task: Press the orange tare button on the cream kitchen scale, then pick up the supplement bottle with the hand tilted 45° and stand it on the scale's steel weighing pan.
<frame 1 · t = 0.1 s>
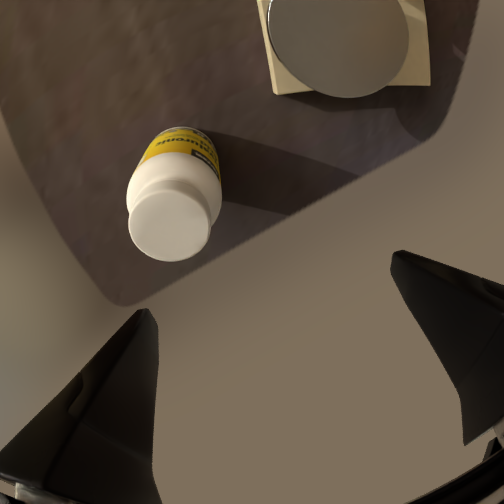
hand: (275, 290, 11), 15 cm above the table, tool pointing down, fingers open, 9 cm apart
scale pan: (325, 29, 17), resting on scale
scale: (346, 5, 16), on the table
supplement bottle: (181, 158, 22), on the table
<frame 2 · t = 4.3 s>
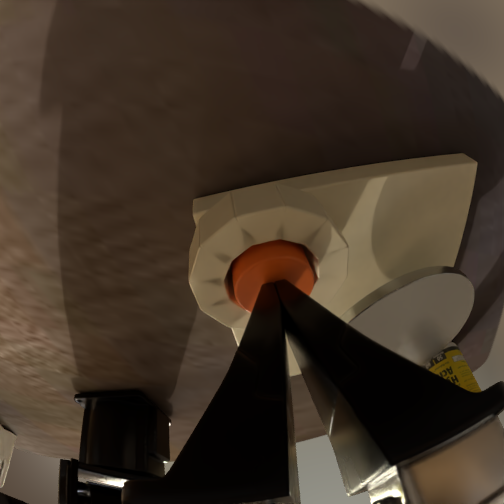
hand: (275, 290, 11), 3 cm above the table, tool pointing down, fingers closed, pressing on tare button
scale pan: (377, 296, 17), resting on scale
scale: (348, 280, 16), on the table
tare button: (271, 273, 11), point 3 cm above the table, slide at -0.8 cm, touching gripper
supplement bottle: (431, 356, 25), on the table
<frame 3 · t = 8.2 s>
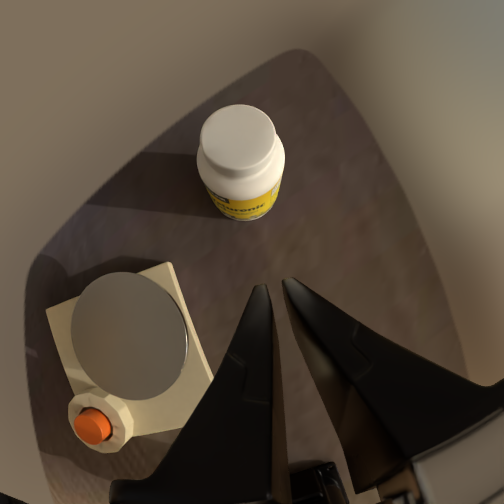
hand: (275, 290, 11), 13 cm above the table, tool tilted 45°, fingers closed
scale pan: (140, 332, 24), resting on scale
scale: (129, 360, 23), on the table
tare button: (92, 426, 19), point 3 cm above the table, slide at 0.1 cm
supplement bottle: (244, 191, 25), on the table
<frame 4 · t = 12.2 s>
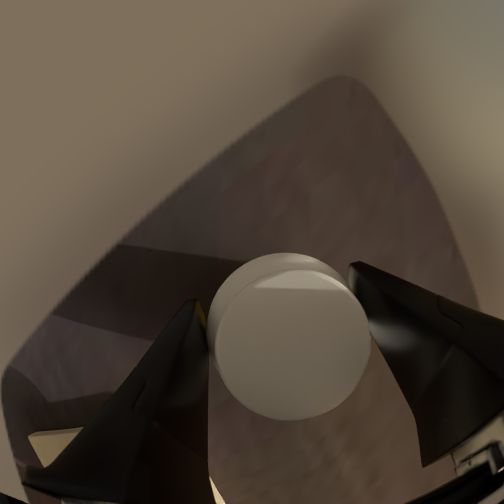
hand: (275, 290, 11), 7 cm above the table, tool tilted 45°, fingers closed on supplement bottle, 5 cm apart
scale: (135, 498, 15), on the table
supplement bottle: (274, 314, 17), on the table, touching gripper
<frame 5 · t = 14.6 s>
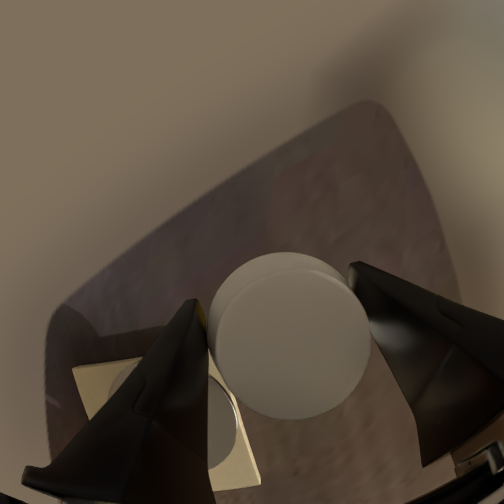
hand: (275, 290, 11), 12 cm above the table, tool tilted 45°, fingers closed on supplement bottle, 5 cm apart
scale pan: (180, 404, 22), resting on scale
scale: (165, 428, 22), on the table
supplement bottle: (274, 314, 17), point 6 cm above the table, touching gripper
when the fingers open (10 cm above the table, at t = 17.5 s): supplement bottle stays where it is, resting on scale pan.
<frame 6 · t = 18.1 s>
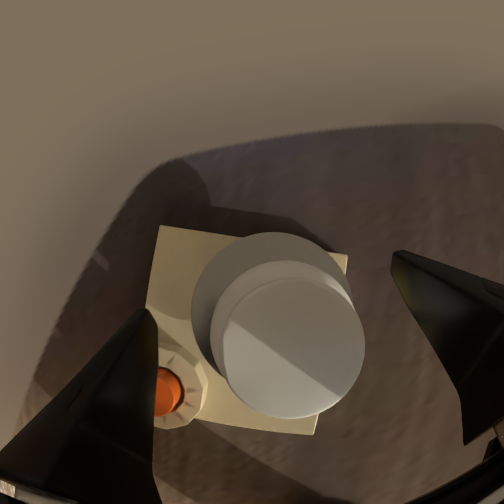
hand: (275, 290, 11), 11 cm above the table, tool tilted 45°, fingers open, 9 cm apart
scale pan: (271, 310, 21), resting on scale
scale: (237, 334, 21), on the table
tare button: (156, 392, 17), point 3 cm above the table, slide at 0.1 cm
supplement bottle: (274, 317, 18), point 3 cm above the table, touching scale pan
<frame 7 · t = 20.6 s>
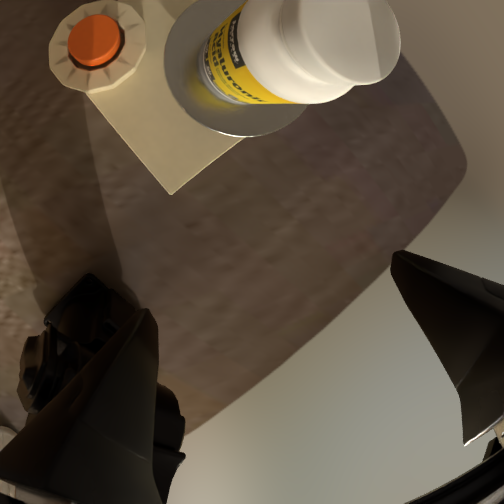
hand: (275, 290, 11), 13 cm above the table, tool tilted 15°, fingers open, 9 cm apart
shaker set: (21, 442, 25), on the table
scale pan: (230, 66, 18), resting on scale
scale: (189, 59, 17), on the table
tare button: (94, 40, 12), point 3 cm above the table, slide at 0.1 cm
supplement bottle: (246, 61, 15), point 3 cm above the table, touching scale pan
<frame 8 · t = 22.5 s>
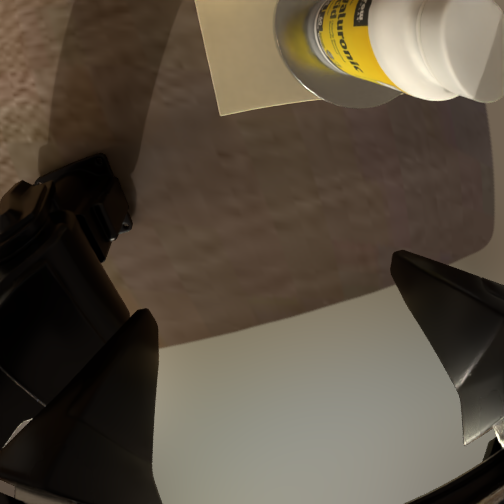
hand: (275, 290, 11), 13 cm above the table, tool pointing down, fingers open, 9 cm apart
scale pan: (334, 33, 16), resting on scale
scale: (301, 7, 15), on the table
supplement bottle: (354, 34, 13), point 3 cm above the table, touching scale pan
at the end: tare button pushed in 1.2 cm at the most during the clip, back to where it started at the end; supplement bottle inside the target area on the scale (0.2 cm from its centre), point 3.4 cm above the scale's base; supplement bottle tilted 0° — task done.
